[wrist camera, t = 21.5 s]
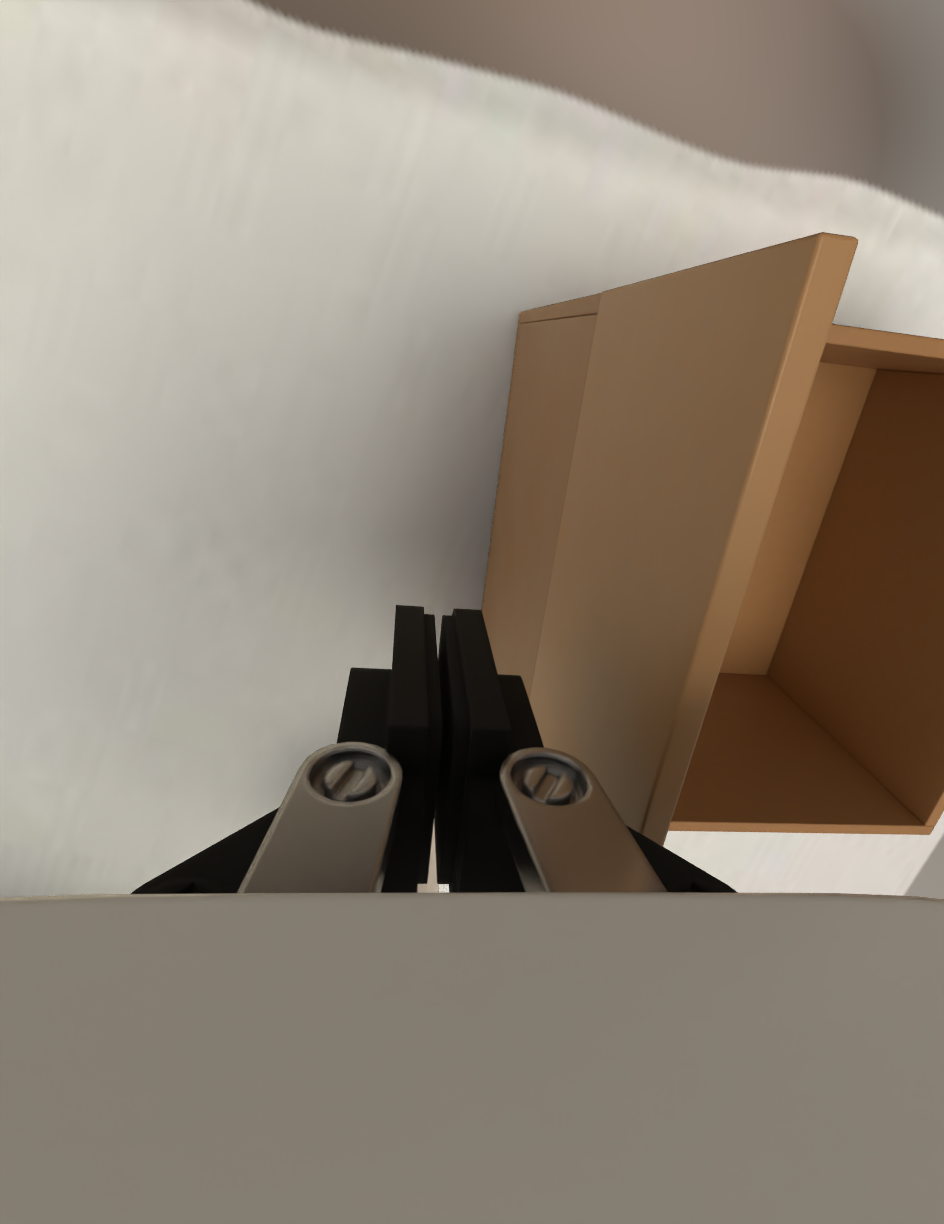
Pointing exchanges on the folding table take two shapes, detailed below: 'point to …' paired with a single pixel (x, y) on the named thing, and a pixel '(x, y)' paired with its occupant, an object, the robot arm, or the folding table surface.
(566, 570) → the flap
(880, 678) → the carton
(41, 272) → the folding table surface
